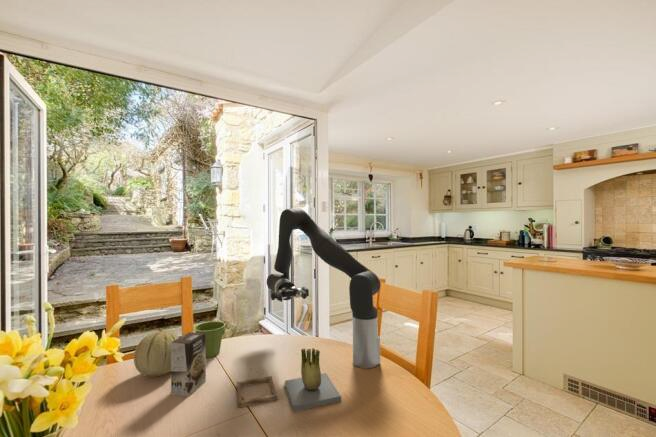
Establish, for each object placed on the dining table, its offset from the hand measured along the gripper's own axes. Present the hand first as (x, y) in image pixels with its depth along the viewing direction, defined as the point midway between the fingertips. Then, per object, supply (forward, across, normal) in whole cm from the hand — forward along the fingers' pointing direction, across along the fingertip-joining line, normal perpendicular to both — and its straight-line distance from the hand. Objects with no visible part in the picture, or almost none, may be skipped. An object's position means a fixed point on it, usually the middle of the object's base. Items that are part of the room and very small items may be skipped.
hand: (293, 297), depth 108 cm
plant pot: (-23, -30, +25) cm, 45 cm away
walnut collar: (+11, -15, +25) cm, 31 cm away
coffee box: (+1, -35, +25) cm, 43 cm away
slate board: (+17, +1, +26) cm, 31 cm away
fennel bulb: (+17, +1, +24) cm, 30 cm away
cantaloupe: (-12, -46, +24) cm, 53 cm away
